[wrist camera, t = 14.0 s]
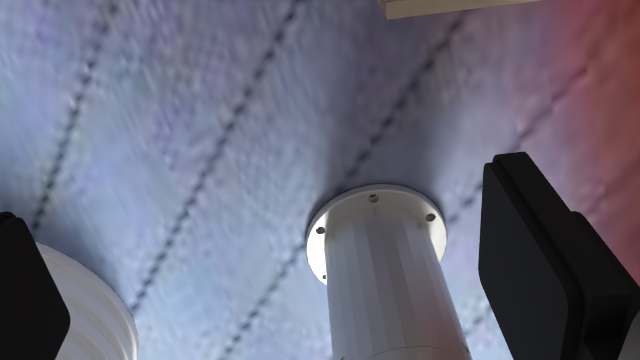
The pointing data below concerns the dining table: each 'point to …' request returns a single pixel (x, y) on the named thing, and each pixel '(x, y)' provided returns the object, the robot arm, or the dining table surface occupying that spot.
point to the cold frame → (435, 6)
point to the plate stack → (91, 313)
